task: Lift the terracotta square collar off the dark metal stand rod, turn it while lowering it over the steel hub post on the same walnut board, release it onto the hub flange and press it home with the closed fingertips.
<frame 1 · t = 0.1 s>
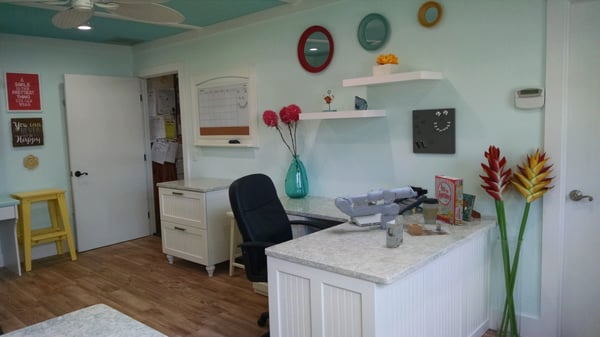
hand: (424, 190, 251), 22 cm above the table, tool horizontal, fingers open, 7 cm apart
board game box: (448, 221, 270), on the table
collar: (415, 233, 237), point 1 cm above the table, touching hub board
ink box: (394, 245, 219), on the table
coffee cup: (429, 224, 262), on the table
hub board: (426, 234, 238), on the table
architectural model: (374, 222, 270), on the table
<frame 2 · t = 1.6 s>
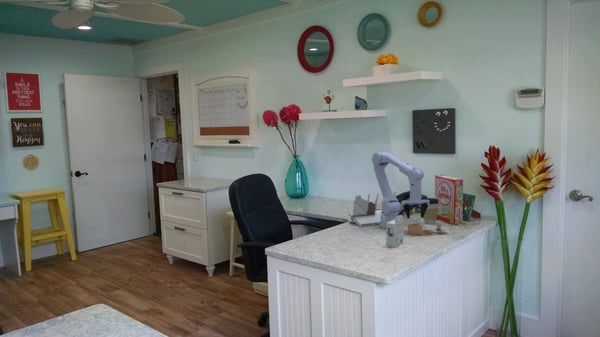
hand: (415, 217, 237), 9 cm above the table, tool pointing down, fingers open, 7 cm apart
nothing on the table moved.
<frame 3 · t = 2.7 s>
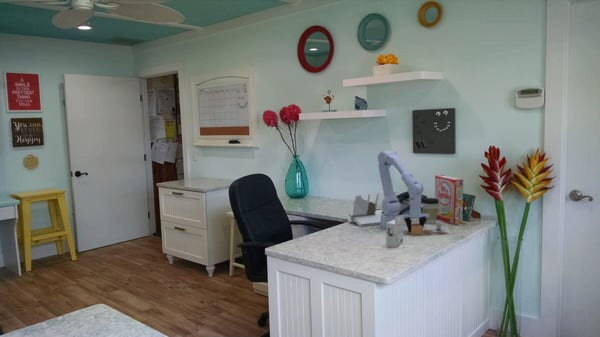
hand: (415, 231, 237), 2 cm above the table, tool pointing down, fingers closed on collar, 6 cm apart
collar: (415, 233, 237), point 1 cm above the table, touching gripper, hub board
everything else where it was.
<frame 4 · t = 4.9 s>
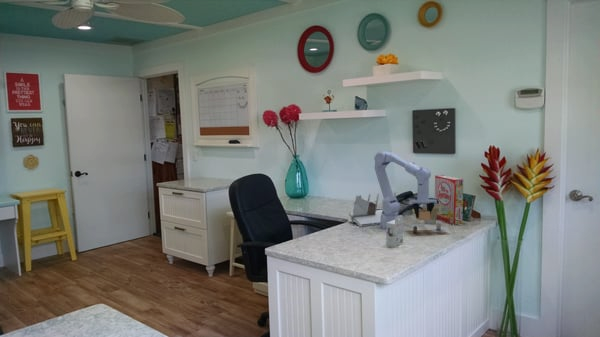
hand: (422, 217, 237), 9 cm above the table, tool pointing down, fingers closed on collar, 6 cm apart
collar: (422, 219, 237), point 9 cm above the table, touching gripper
everything else where it was.
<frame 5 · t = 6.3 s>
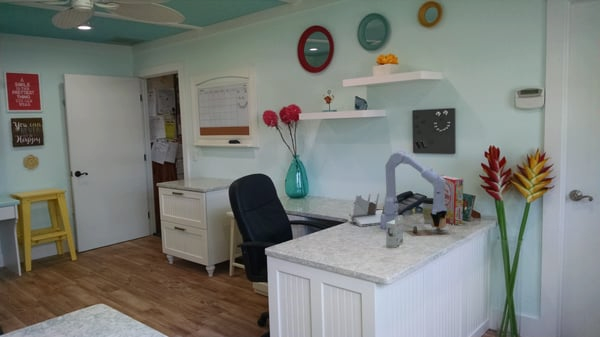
hand: (438, 225, 239), 5 cm above the table, tool pointing down, fingers closed on collar, 6 cm apart
collar: (438, 226, 239), point 4 cm above the table, touching gripper
everything else where it was.
when the fingers open (4 cm above the table, at t = 7.1 s): collar stays where it is, resting on hub board.
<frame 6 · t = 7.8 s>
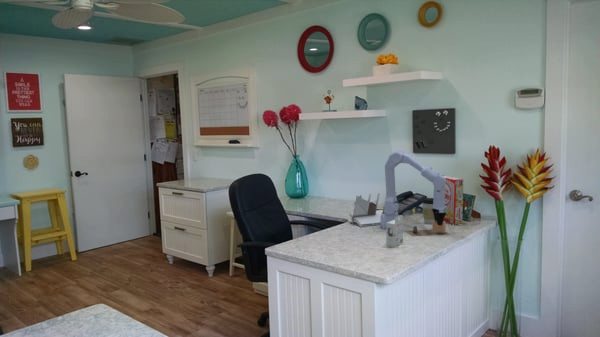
hand: (438, 223, 239), 6 cm above the table, tool pointing down, fingers open, 7 cm apart
collar: (439, 230, 239), point 2 cm above the table, touching gripper, hub board
everything else where it was.
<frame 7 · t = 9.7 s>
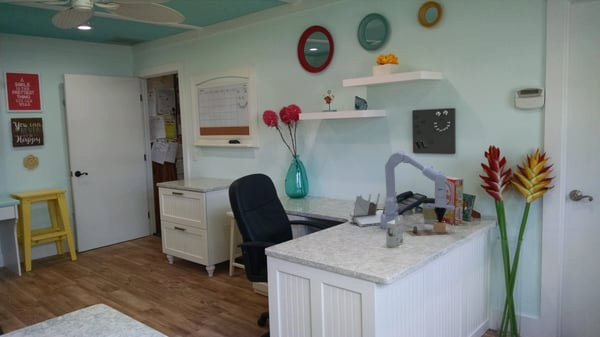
hand: (440, 221, 240), 6 cm above the table, tool pointing down, fingers closed, pressing on collar
collar: (439, 230, 239), point 2 cm above the table, touching gripper, hub board
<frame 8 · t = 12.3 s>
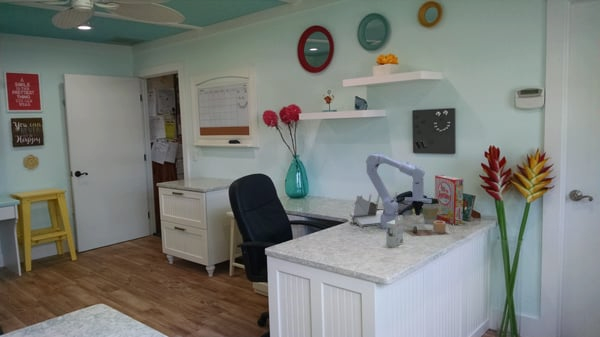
hand: (417, 215, 243), 9 cm above the table, tool pointing down, fingers closed
collar: (439, 230, 239), point 2 cm above the table, touching hub board
at the end: collar 0.5 cm from the target spot on the hub board, point 2.0 cm above the hub board's base; collar tilted 0°; the gripper is holding nothing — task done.
